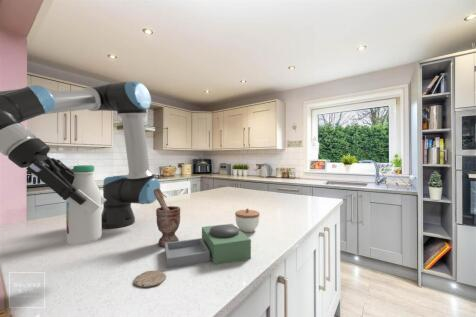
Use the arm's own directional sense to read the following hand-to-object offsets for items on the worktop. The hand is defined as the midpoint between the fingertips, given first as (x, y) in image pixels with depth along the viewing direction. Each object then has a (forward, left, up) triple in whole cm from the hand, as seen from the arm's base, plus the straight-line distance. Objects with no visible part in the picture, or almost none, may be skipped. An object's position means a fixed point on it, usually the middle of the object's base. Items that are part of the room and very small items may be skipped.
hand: (99, 206), depth 61 cm
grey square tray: (-3, +24, -18) cm, 30 cm away
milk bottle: (0, -3, -9) cm, 10 cm away
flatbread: (+8, +13, -19) cm, 24 cm away
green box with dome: (-3, +37, -18) cm, 41 cm away
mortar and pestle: (-17, +18, -19) cm, 31 cm away
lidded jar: (-20, +53, -19) cm, 60 cm away
